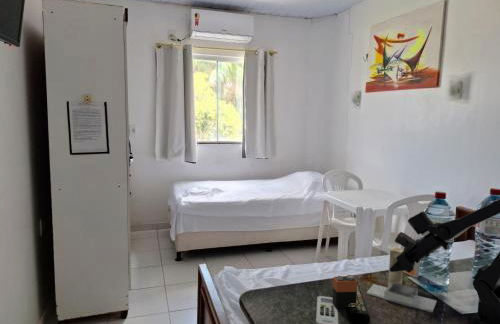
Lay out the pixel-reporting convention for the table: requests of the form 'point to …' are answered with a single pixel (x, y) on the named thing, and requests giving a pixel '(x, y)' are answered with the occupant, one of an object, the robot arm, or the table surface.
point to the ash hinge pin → (393, 276)
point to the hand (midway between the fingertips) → (392, 268)
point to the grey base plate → (402, 296)
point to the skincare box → (414, 270)
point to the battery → (344, 291)
